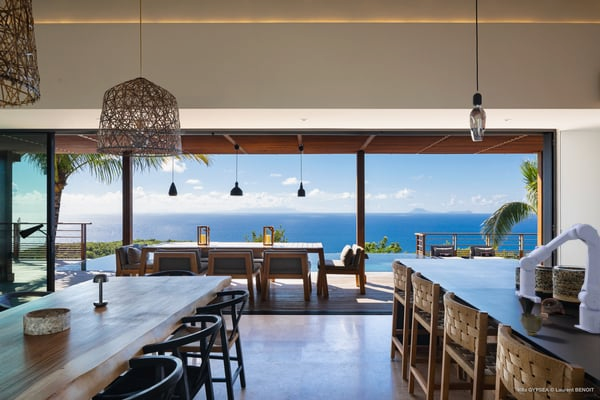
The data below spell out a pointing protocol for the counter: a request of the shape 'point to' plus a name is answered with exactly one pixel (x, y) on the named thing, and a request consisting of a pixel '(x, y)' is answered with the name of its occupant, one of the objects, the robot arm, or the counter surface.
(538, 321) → the cup
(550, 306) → the pottery mug
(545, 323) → the button panel
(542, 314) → the terracotta button
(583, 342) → the counter surface
